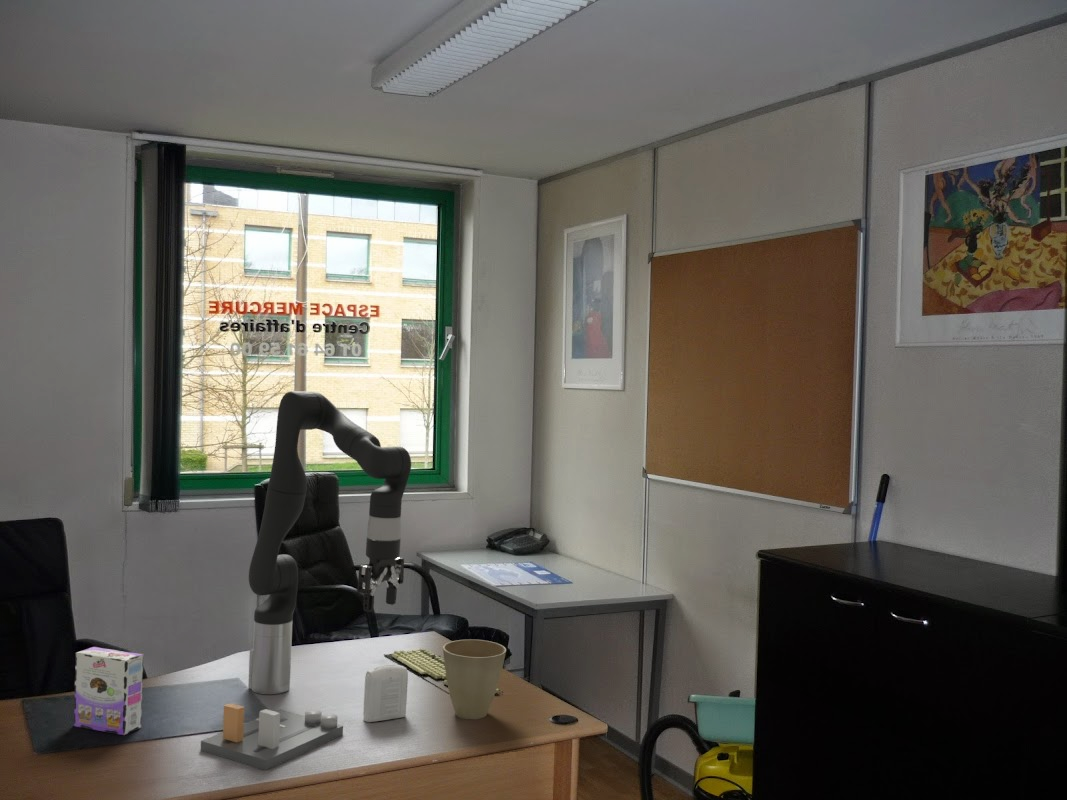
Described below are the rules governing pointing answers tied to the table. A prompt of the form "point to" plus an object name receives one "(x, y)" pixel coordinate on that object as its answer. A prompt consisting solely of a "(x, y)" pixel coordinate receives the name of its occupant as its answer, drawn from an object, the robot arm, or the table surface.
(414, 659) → the keyboard
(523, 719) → the table surface
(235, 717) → the fader cap
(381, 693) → the photo printer
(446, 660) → the plant pot
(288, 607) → the robot arm
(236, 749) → the console
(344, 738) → the table surface
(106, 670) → the candy box
